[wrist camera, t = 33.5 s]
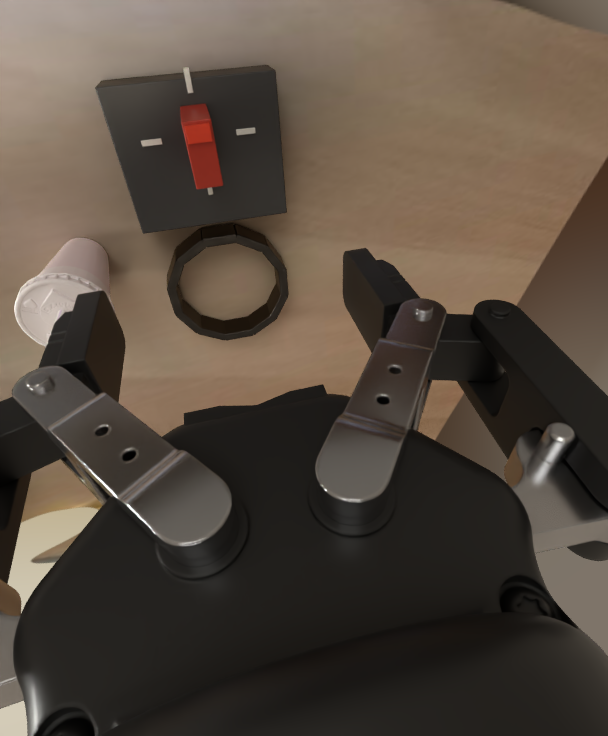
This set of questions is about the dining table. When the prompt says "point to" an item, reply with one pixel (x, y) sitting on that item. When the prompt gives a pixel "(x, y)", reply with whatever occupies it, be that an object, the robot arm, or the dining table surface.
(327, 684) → the robot arm
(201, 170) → the knob
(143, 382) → the dining table surface
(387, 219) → the dining table surface
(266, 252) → the ring
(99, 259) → the smoothie
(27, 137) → the dining table surface
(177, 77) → the panel
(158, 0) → the dining table surface
